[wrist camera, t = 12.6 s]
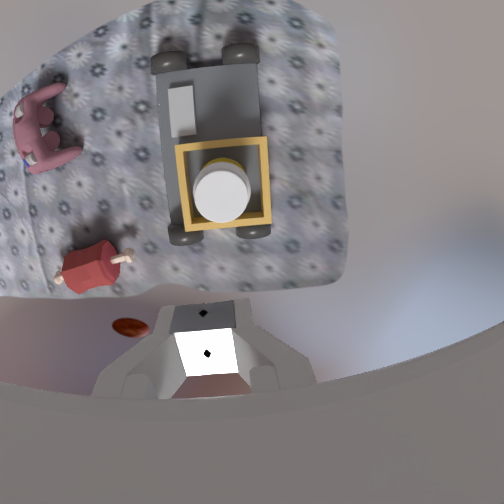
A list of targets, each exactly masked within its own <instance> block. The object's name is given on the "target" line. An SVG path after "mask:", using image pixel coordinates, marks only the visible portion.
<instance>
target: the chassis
mask: <svg viewBox="0 0 504 504" xmlns="http://www.w3.org/2000/svg"><path fill="white" fill-rule="evenodd" d="M150 61H151V74H152V75H156V87H157V103H158V116H159V127H160V138H161V148H162V157H163V166H164V174H165V182H166V190H167V197H168V204H169V211H170V217H171V224H170V225H169V226H168V233H169V239H170V243H171V244H172V245H176V246H185V245H191V244H195V243H197V242H200V241H201V240H202V239H203V238H204V235H203V230H208V229H218V228H228V227H236V235H237V236H238V237H240V238H244V239H257V238H262V237H266V236H268V235H269V234H270V233H271V224H272V219H271V199H270V181H269V164H268V148H267V136H261V122H260V108H259V94H258V81H257V68H256V64H258V63H259V62H260V56H259V46H257V45H255V44H251V43H237V44H231V45H228V46H225V47H223V48H222V64H223V65H221V66H211V67H202V68H194V69H188V68H187V54H186V53H185V52H182V51H168V52H162V53H159V54H156V55H154V56H152V57H151V59H150ZM218 157H228V158H232V159H234V160H236V161H237V162H239V163H240V164H241V166H242V167H243V168H244V170H245V172H246V175H247V176H248V179H249V182H250V186H251V195H250V199H249V202H248V204H247V206H246V208H245V210H244V211H243V213H242V214H241V215H240V216H239V217H237V218H236V219H234V220H232V221H230V222H225V223H217V222H213V221H210V220H208V219H206V218H205V217H204V216H202V215H201V214H200V212H199V211H198V209H197V207H196V205H195V200H194V196H193V185H194V181H195V179H196V177H197V175H198V173H199V172H200V171H201V170H202V168H203V167H204V166H205V164H206V163H208V162H209V161H210V160H212V159H215V158H218Z"/></svg>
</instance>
